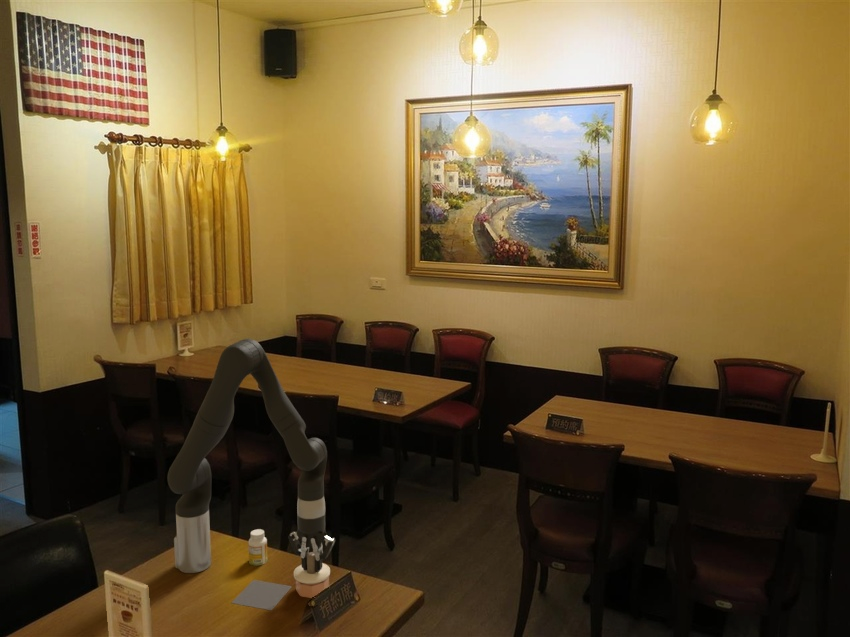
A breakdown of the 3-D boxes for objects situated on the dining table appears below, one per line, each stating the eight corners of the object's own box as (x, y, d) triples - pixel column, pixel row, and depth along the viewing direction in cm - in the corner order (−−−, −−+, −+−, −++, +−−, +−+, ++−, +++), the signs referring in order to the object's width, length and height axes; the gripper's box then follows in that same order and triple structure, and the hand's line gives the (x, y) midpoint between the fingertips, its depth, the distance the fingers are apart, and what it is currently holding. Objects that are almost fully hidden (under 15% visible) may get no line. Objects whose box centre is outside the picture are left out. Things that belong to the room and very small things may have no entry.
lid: (287, 580, 189) (286, 560, 188) (303, 562, 198) (302, 543, 197) (321, 586, 186) (321, 566, 185) (335, 567, 196) (335, 548, 195)
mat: (231, 604, 186) (231, 602, 186) (253, 581, 197) (253, 579, 197) (271, 612, 183) (271, 610, 183) (292, 588, 194) (292, 586, 194)
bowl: (292, 596, 190) (291, 583, 189) (305, 580, 198) (305, 567, 197) (320, 601, 188) (320, 587, 187) (332, 585, 196) (332, 572, 195)
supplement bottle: (260, 556, 211) (259, 526, 210) (271, 562, 208) (270, 531, 207) (245, 563, 207) (244, 532, 206) (256, 569, 204) (255, 538, 202)
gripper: (281, 514, 187) (282, 573, 190) (329, 520, 184) (330, 581, 187) (293, 502, 194) (295, 559, 197) (340, 509, 191) (340, 567, 194)
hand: (312, 569), depth 192 cm, fingers open, 3 cm apart
